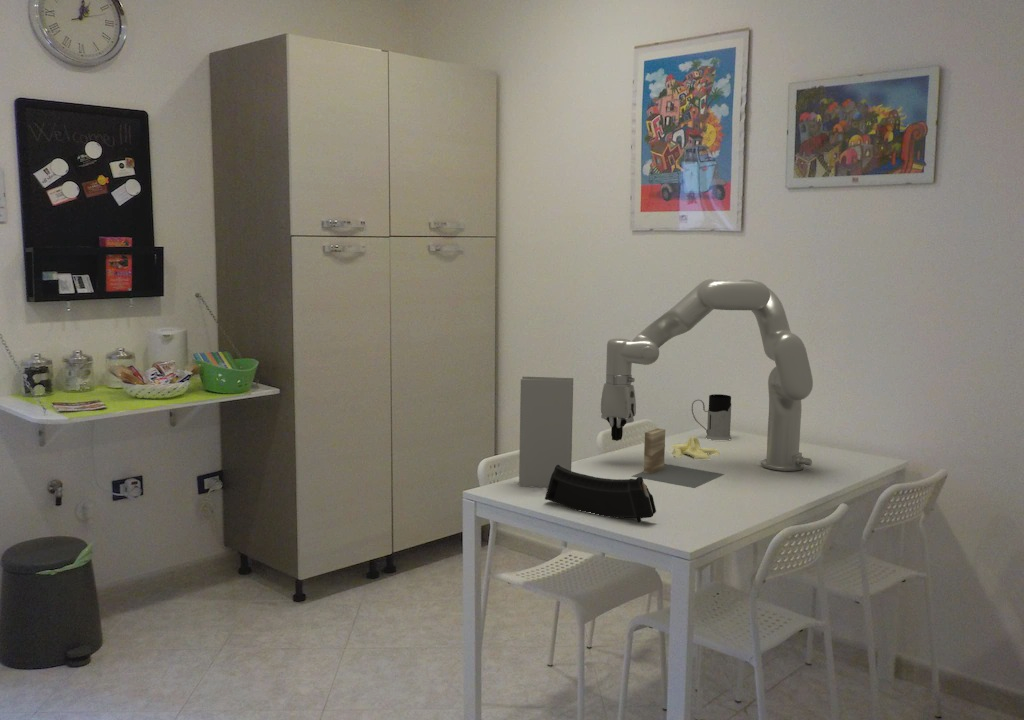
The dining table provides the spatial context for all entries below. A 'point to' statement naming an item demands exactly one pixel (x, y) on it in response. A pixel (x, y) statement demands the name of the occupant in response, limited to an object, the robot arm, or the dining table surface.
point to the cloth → (693, 449)
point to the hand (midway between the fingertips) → (616, 439)
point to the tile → (654, 451)
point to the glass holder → (717, 417)
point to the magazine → (601, 494)
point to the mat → (680, 476)
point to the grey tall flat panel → (544, 428)
